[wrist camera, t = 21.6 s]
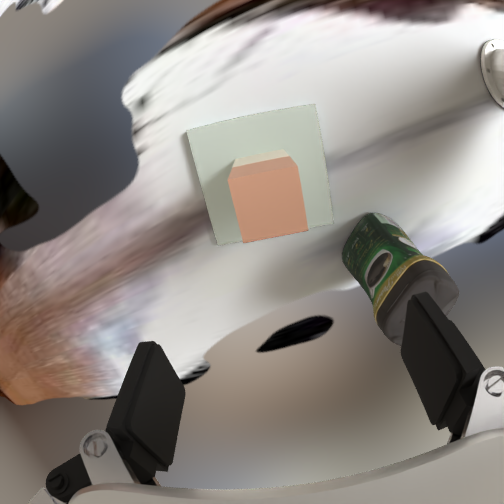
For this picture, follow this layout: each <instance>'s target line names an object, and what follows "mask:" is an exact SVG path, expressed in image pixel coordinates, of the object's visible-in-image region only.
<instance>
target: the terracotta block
mask: <svg viewBox="0 0 504 504" xmlns="http://www.w3.org/2000/svg"><path fill="white" fill-rule="evenodd" d="M228 184H229V188H230V192H231V196H232V200H233V204H234V208H235V212H236V216H237V220H238V224H239V228H240V232H241V236H242V240H243V243H247V242H252V241H257V240H262V239H267V238H273V237H278V236H283V235H288V234H293V233H299V232H304V231H308V225H307V218H306V212H305V206H304V200H303V194H302V188H301V182H300V176H299V171H298V166H297V164H296V163H295V162H294V161H293V160H292V158H291V157H290V156H287V157H281V158H276V159H271V160H266V161H261V162H256V163H251V164H246V165H242V166H237V167H233V168H232V170H231V172H230V175H229V177H228Z"/></svg>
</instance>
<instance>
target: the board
mask: <svg viewBox="0 0 504 504" xmlns="http://www.w3.org/2000/svg"><path fill="white" fill-rule="evenodd" d="M187 135H188V139H189V143H190V147H191V151H192V155H193V158H194V162H195V166H196V170H197V173H198V177H199V181H200V184H201V188H202V192H203V195H204V199H205V203H206V206H207V210H208V213H209V217H210V220H211V224H212V227H213V231H214V234H215V238H216V241H217V245H218V246H220V245H225V244H231V243H236V242H241V241H243V240H242V236H241V232H240V228H239V224H238V220H237V216H236V212H235V208H234V204H233V200H232V196H231V192H230V188H229V184H228V177H229V175H230V172H231V170H232V166H233V164H234V161H235V159H238V158H242V157H247V156H251V155H256V154H261V153H266V152H271V151H276V150H281V149H284V150H285V151H286V153H287V154H288V155H289V156H290V157H291V158H292V160H293V161H294V162H295V163H296V164H297V166H298V171H299V176H300V182H301V188H302V194H303V200H304V206H305V212H306V218H307V225H308V228H313V227H319V226H324V225H329V224H334V221H333V212H332V204H331V196H330V189H329V182H328V175H327V168H326V162H325V156H324V149H323V144H322V138H321V132H320V127H319V121H318V116H317V111H316V106H315V104H311V105H304V106H297V107H291V108H285V109H279V110H273V111H268V112H263V113H258V114H253V115H248V116H243V117H239V118H234V119H230V120H225V121H221V122H217V123H213V124H209V125H205V126H202V127H198V128H194V129H190V130H187Z"/></svg>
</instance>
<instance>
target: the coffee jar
mask: <svg viewBox="0 0 504 504" xmlns="http://www.w3.org/2000/svg"><path fill="white" fill-rule="evenodd" d="M342 259H343V262H344V264H345V266H346V267H347V269H348V270H349V272H350V273H351V274H352V275H353V276H354V278H355V279H356V280H357V281H358V282H359V284H360V285H361V286H362V288H363V289H364V290H365V292H366V293H367V295H368V296H369V298H370V300H371V302H372V304H373V311H374V318H375V320H376V323H377V325H378V326H379V327H380V329H381V330H382V331H383V333H384V334H385V336H386V337H387V338H388V339H389V340H390V341H392V342H393V343H395V344H397V345H400V346H402V340H403V333H404V326H405V318H406V310H407V302H408V300H411V297H412V295H414V294H418V293H422V292H425V291H426V292H428V293H429V295H430V296H431V297H432V298H433V300H434V301H435V302H436V304H437V305H438V306H439V308H440V309H441V310H442V312H443V313H444V314H445V316H447V315H448V313H449V312H450V310H451V309H452V308H453V306H454V305H455V303H456V301H457V298H458V296H459V290H458V288H457V286H456V284H455V282H454V281H453V280H452V279H451V277H450V276H449V274H448V273H447V271H446V269H445V268H444V267H443V266H442V265H441V264H439V263H438V262H437V261H435V260H434V259H432V258H430V257H427V256H423V255H422V254H421V252H420V251H419V250H418V249H417V248H416V247H415V245H414V244H413V243H412V241H411V240H410V239H409V238H408V236H407V235H406V234H405V232H404V231H403V230H402V229H401V228H400V227H399V225H397V224H396V223H395V222H394V221H393V220H391V219H390V218H388V217H387V216H385V215H382V214H379V213H370V214H368V215H366V216H365V217H364V218H362V220H361V221H360V222H359V223H358V225H357V226H356V227H355V229H354V230H353V232H352V234H351V235H350V237H349V239H348V241H347V243H346V245H345V247H344V250H343V253H342Z"/></svg>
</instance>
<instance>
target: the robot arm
mask: <svg viewBox="0 0 504 504" xmlns="http://www.w3.org/2000/svg"><path fill="white" fill-rule="evenodd" d="M481 68H482V73H483V77H484V80H485V83H486V86H487V88H488V90H489V92H490V93H491V95H492V97H493V98H494V99H495V100H496V102H497V103H498V104H499V105H500V106H502V107H504V42H503V41H501V40H497V39H495V40H490V41H488V42H486V43H485V45H484V46H483V49H482V52H481ZM401 356H402V359H403V361H404V363H405V365H406V368H407V370H408V372H409V374H410V376H411V378H412V380H413V383H414V385H415V387H416V389H417V392H418V394H419V396H420V398H421V401H422V403H423V405H424V407H425V410H426V412H427V415H428V417H429V420H430V422H431V424H432V425H435V424H436V427H437V429H438V430H440V429H443V428H445V427H447V426H448V429H449V431H450V432H451V434H450V437H449V440H448V442H447V445H444V446H442V447H439V448H437V449H434V450H432V451H429V452H427V453H424V454H421V455H418V456H415V457H413V458H409V459H406V460H404V461H401V462H397V463H394V464H391V465H388V466H385V467H381V468H378V469H374V470H370V471H366V472H362V473H359V474H354V475H350V476H345V477H340V478H335V479H330V480H326V481H319V482H314V483H307V484H300V485H292V486H283V487H272V488H259V489H233V490H213V489H208V490H207V489H188V488H173V487H161V485H160V484H159V482H158V481H157V479H156V478H155V473H156V471H166V472H167V471H168V467H169V465H171V464H172V463H173V457H174V452H175V447H176V441H177V435H178V430H179V424H180V420H181V414H182V409H183V404H184V399H185V388H184V386H183V384H182V382H181V381H180V379H179V377H178V376H177V374H176V372H175V371H174V369H173V367H172V365H171V364H170V362H169V360H168V358H167V357H166V355H165V353H164V351H163V349H162V348H161V346H160V345H159V344H156V342H154V341H149V342H140V343H139V344H138V346H137V349H136V351H135V354H134V356H133V358H132V361H131V363H130V366H129V368H128V371H127V373H126V376H125V378H124V381H123V384H122V386H121V389H120V391H119V394H118V397H117V399H116V402H115V405H114V407H113V410H112V413H111V416H110V418H109V421H108V424H107V428H106V431H103V430H94V431H91V432H90V433H88V434H87V435H86V436H85V437H84V438H83V439H82V441H81V443H80V454H78V455H77V456H75V457H73V458H72V459H70V460H68V461H67V462H65V463H63V464H62V465H60V466H58V467H57V468H55V469H53V470H52V471H51V472H50V473H49V474H48V476H47V479H46V489H44V488H41V490H40V491H39V492H38V493H37V494H36V495H35V496H34V497H33V498H32V499H31V500H30V501H29V502H28V503H27V504H504V368H502V367H497V366H494V367H490V368H488V369H486V370H485V368H484V367H483V365H482V364H481V362H480V360H479V359H478V357H477V356H476V354H475V353H474V351H473V350H472V348H471V347H470V346H469V344H468V343H467V341H466V340H465V338H464V337H463V335H462V334H461V333H460V331H459V330H458V328H457V327H456V326H455V324H454V323H453V322H452V321H450V320H448V318H447V317H446V316H445V314H444V313H443V312H442V310H441V309H440V308H439V306H438V305H437V304H436V302H435V301H434V300H433V298H432V297H431V296H430V295H429V293H428V292H426V291H425V292H422V293H418V294H414V295H412V297H411V300H408V302H407V310H406V318H405V326H404V333H403V340H402V346H401Z"/></svg>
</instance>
